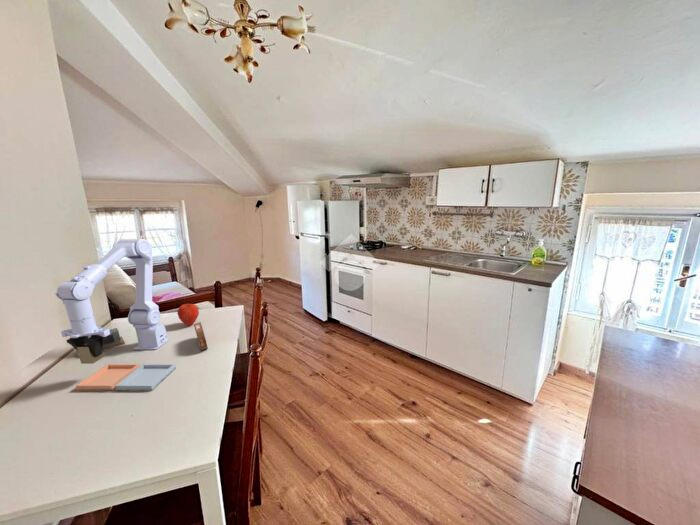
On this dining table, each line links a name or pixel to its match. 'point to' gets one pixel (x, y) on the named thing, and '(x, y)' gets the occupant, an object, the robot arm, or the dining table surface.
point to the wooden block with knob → (87, 354)
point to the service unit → (112, 340)
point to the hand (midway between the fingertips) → (92, 355)
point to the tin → (200, 336)
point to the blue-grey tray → (146, 377)
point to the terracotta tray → (107, 377)
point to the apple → (188, 314)
